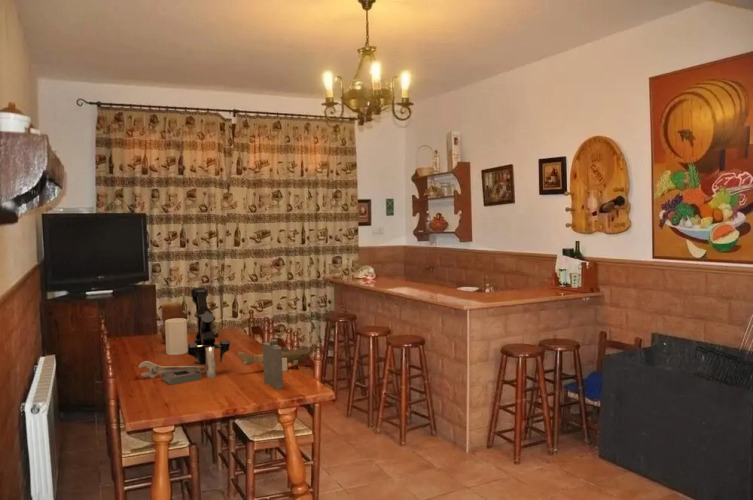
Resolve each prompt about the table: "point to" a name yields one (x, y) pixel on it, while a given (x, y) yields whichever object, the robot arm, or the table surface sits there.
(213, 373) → the pin
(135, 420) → the table surface
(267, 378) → the hip flask
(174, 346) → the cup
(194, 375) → the grey square frame
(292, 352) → the wood carving
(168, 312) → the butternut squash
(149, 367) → the wrench
